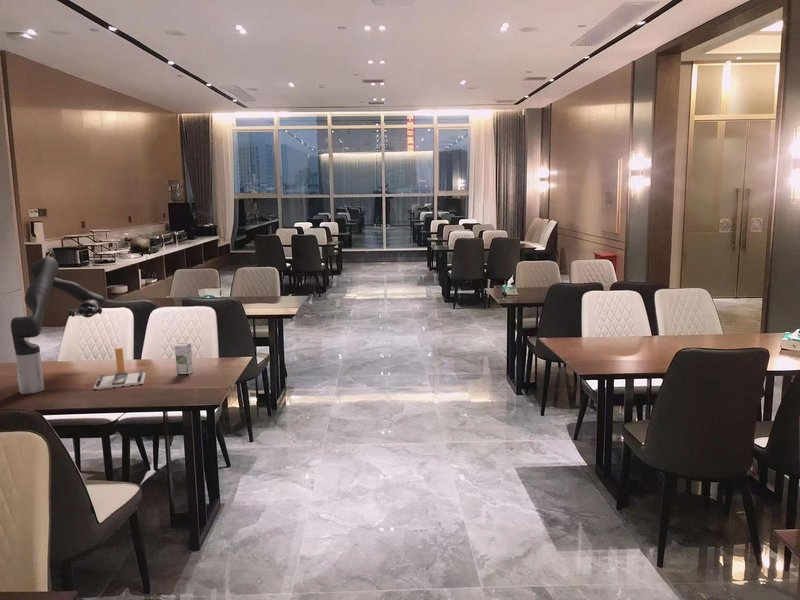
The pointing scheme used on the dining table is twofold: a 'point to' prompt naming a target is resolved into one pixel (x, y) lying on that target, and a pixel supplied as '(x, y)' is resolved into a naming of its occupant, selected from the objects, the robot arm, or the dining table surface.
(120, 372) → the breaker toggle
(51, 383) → the dining table surface
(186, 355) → the syrup box
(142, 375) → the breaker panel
